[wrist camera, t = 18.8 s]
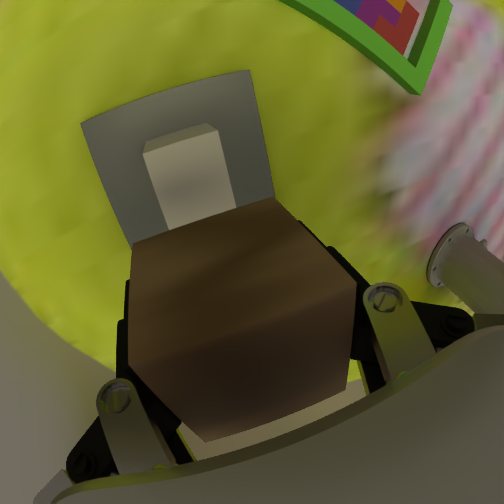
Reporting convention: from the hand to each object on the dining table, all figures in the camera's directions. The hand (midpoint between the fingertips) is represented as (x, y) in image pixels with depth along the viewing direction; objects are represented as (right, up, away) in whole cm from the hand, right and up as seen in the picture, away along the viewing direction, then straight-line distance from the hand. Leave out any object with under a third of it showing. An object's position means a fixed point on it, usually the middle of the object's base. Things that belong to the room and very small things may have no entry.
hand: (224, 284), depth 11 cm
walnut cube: (0, 0, 0) cm, 1 cm away
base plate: (-5, +8, +13) cm, 16 cm away
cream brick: (-4, +8, +13) cm, 15 cm away
